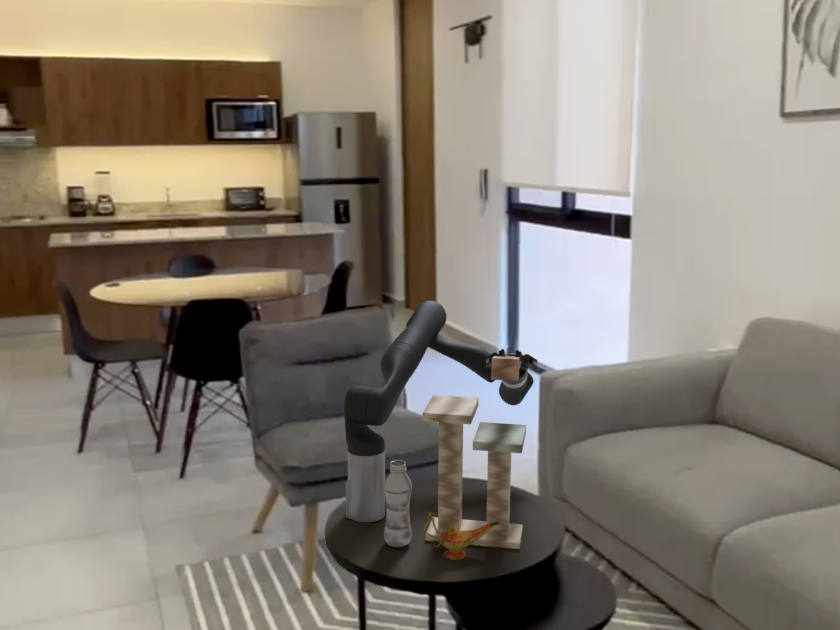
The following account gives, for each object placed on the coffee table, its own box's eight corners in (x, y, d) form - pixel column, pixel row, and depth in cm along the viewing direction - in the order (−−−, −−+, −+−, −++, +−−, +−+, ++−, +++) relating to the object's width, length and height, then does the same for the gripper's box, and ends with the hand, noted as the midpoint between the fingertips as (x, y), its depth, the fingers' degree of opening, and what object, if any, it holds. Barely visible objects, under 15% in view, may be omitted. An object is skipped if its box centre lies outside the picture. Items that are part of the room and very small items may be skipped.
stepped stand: (421, 544, 198) (422, 412, 192) (432, 518, 212) (433, 395, 206) (518, 553, 194) (522, 419, 188) (523, 526, 208) (526, 400, 201)
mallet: (491, 379, 197) (491, 358, 197) (499, 371, 219) (500, 351, 219) (517, 380, 196) (517, 359, 196) (522, 372, 218) (523, 353, 218)
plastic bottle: (379, 548, 196) (378, 466, 193) (391, 535, 203) (391, 456, 199) (404, 553, 194) (405, 470, 190) (416, 540, 200) (416, 460, 196)
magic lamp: (504, 556, 193) (505, 511, 190) (426, 564, 189) (427, 518, 187) (494, 543, 199) (496, 498, 197) (420, 550, 195) (420, 505, 193)
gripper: (539, 386, 224) (537, 368, 208) (485, 383, 227) (480, 366, 210) (540, 359, 226) (538, 339, 210) (487, 356, 229) (482, 337, 213)
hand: (509, 353), depth 210 cm, fingers closed on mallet, 3 cm apart
